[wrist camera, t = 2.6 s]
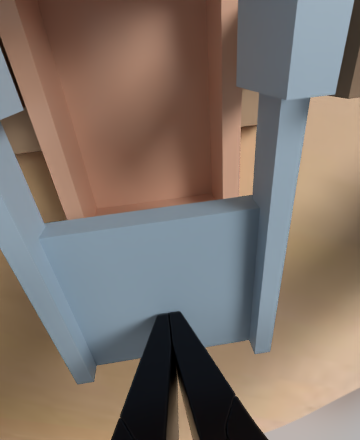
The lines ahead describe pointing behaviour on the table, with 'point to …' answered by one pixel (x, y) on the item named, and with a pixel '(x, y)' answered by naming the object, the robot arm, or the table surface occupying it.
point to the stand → (346, 88)
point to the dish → (130, 98)
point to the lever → (182, 214)
